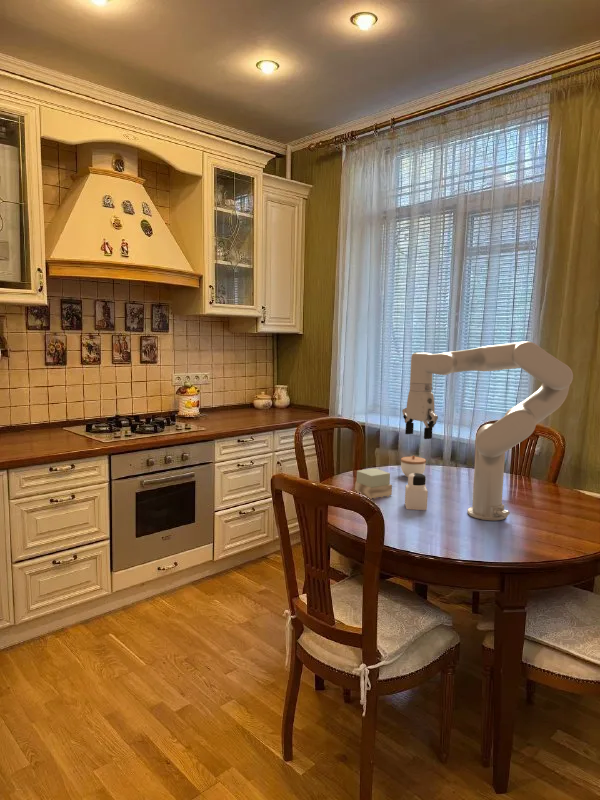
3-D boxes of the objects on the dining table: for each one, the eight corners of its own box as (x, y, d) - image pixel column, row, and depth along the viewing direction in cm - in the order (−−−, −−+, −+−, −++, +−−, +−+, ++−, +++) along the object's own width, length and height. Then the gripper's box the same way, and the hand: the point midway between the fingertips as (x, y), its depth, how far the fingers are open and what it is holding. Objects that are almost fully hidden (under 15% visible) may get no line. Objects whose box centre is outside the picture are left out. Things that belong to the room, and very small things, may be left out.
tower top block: (389, 484, 213) (390, 473, 212) (371, 487, 208) (371, 476, 207) (374, 479, 220) (374, 468, 220) (356, 482, 216) (356, 470, 215)
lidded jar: (409, 472, 250) (409, 451, 249) (429, 476, 242) (430, 455, 241) (395, 476, 242) (396, 455, 241) (416, 481, 235) (417, 459, 234)
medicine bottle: (424, 504, 202) (425, 472, 201) (426, 510, 195) (428, 477, 194) (404, 503, 203) (406, 471, 202) (406, 509, 196) (407, 476, 194)
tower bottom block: (391, 496, 213) (391, 485, 212) (370, 500, 208) (370, 488, 207) (375, 490, 221) (376, 479, 221) (354, 493, 216) (355, 481, 216)
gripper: (446, 390, 188) (443, 439, 190) (412, 385, 203) (410, 431, 205) (429, 391, 185) (427, 441, 187) (396, 386, 200) (394, 433, 202)
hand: (418, 436), depth 196 cm, fingers open, 9 cm apart
